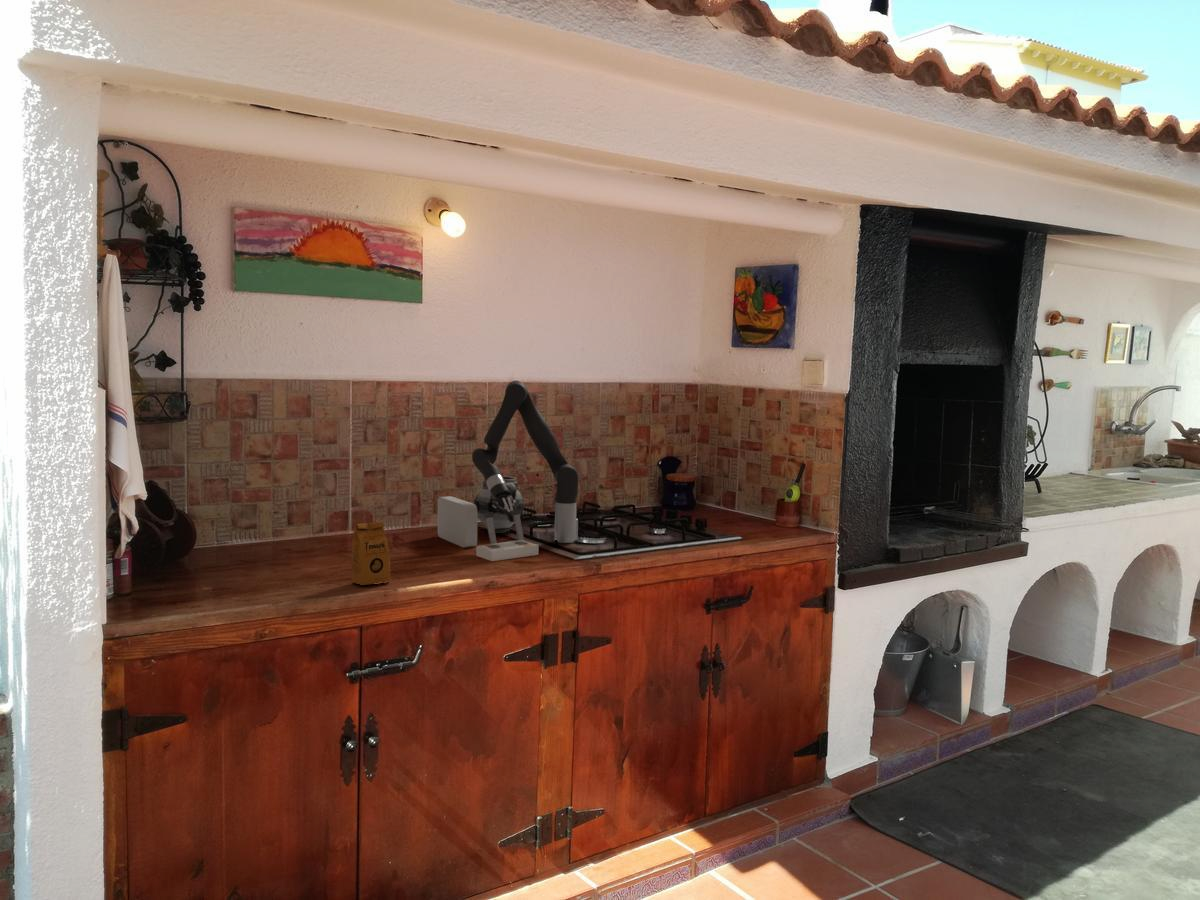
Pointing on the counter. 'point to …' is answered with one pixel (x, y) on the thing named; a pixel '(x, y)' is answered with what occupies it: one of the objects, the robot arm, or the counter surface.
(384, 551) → the coffee package
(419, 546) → the counter surface
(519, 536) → the lever
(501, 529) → the ceramic pot
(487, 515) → the lever
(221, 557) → the counter surface
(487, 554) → the switch unit
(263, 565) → the counter surface
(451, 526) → the rounded white slab
